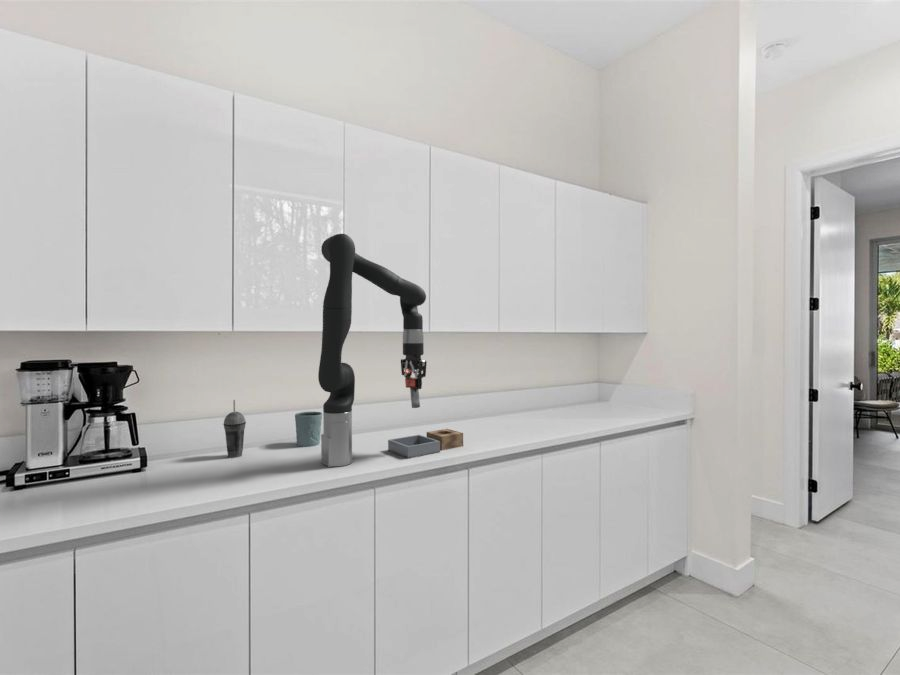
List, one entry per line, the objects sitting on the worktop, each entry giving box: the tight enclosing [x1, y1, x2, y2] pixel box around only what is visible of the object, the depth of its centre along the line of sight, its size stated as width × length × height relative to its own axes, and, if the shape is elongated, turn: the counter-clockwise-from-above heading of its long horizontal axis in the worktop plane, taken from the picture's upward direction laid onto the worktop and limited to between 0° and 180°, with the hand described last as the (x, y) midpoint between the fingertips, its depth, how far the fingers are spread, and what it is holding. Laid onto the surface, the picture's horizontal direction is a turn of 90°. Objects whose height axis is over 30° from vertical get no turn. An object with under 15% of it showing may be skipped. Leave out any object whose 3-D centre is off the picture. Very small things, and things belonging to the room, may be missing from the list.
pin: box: [404, 376, 421, 409], centre depth 170 cm, size 6×6×11 cm
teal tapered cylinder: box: [294, 411, 323, 448], centre depth 182 cm, size 10×10×12 cm
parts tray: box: [387, 434, 441, 459], centre depth 170 cm, size 14×14×4 cm
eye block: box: [426, 428, 464, 451], centre depth 178 cm, size 10×10×5 cm
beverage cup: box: [222, 399, 247, 459], centre depth 165 cm, size 7×7×20 cm
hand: (413, 388), depth 170 cm, fingers closed on pin, 6 cm apart
